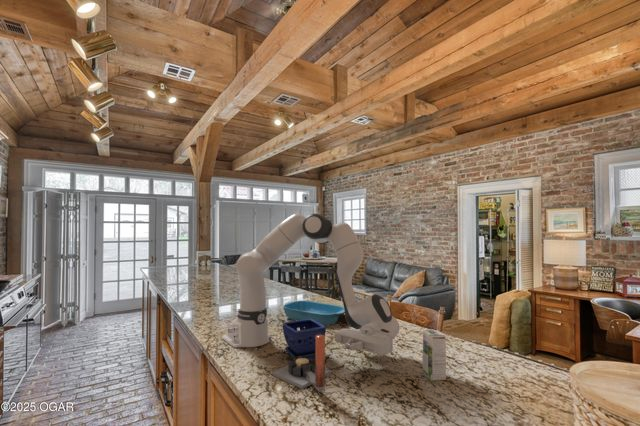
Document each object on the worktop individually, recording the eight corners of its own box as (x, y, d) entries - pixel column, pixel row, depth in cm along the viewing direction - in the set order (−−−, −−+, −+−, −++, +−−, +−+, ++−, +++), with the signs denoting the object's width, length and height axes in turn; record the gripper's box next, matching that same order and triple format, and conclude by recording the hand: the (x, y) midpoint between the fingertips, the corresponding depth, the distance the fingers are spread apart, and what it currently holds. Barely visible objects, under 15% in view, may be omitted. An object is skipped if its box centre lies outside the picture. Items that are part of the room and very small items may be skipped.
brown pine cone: (353, 321, 176) (345, 327, 163) (345, 315, 178) (337, 321, 164) (358, 312, 176) (350, 318, 162) (350, 306, 178) (342, 312, 164)
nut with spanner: (285, 367, 109) (286, 320, 109) (309, 363, 112) (309, 317, 113) (307, 396, 90) (308, 339, 90) (335, 390, 93) (335, 335, 94)
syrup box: (422, 373, 108) (421, 329, 108) (439, 372, 108) (438, 329, 109) (429, 381, 102) (428, 335, 103) (447, 380, 102) (446, 334, 103)
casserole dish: (353, 319, 173) (353, 306, 173) (332, 330, 154) (332, 315, 154) (298, 310, 192) (299, 298, 193) (274, 319, 174) (275, 305, 174)
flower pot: (294, 365, 114) (294, 331, 114) (281, 352, 125) (281, 322, 126) (326, 358, 120) (326, 326, 120) (311, 347, 131) (311, 317, 132)
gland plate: (272, 375, 106) (272, 361, 106) (301, 362, 116) (301, 349, 116) (302, 389, 96) (302, 373, 97) (331, 373, 107) (331, 359, 107)
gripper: (347, 322, 121) (324, 330, 111) (396, 333, 108) (375, 344, 98) (347, 338, 121) (324, 349, 111) (396, 352, 108) (375, 365, 97)
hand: (348, 347), depth 104 cm, fingers closed
